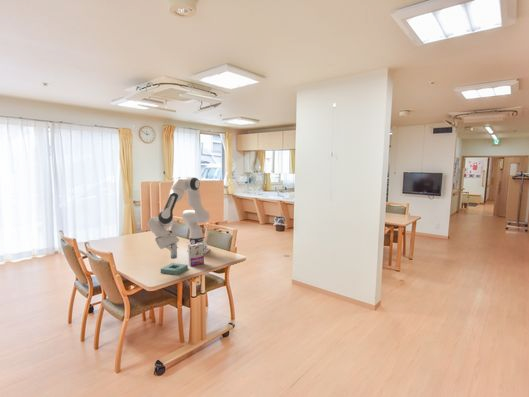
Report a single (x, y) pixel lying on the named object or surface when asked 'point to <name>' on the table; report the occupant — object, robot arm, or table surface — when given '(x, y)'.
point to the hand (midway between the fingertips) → (174, 249)
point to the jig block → (174, 268)
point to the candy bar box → (196, 254)
